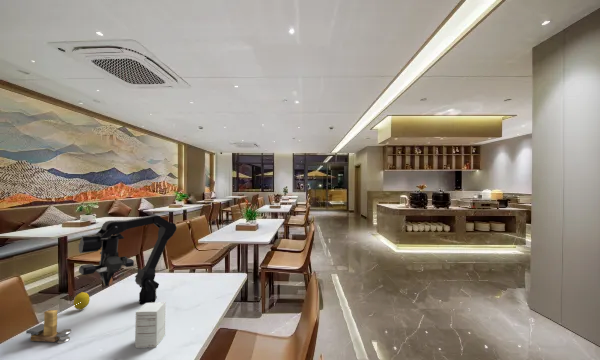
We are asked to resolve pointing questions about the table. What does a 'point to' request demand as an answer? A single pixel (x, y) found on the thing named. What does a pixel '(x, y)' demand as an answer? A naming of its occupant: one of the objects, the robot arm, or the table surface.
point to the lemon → (81, 300)
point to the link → (48, 328)
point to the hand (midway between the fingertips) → (105, 285)
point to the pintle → (63, 336)
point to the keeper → (36, 330)
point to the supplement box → (150, 325)
